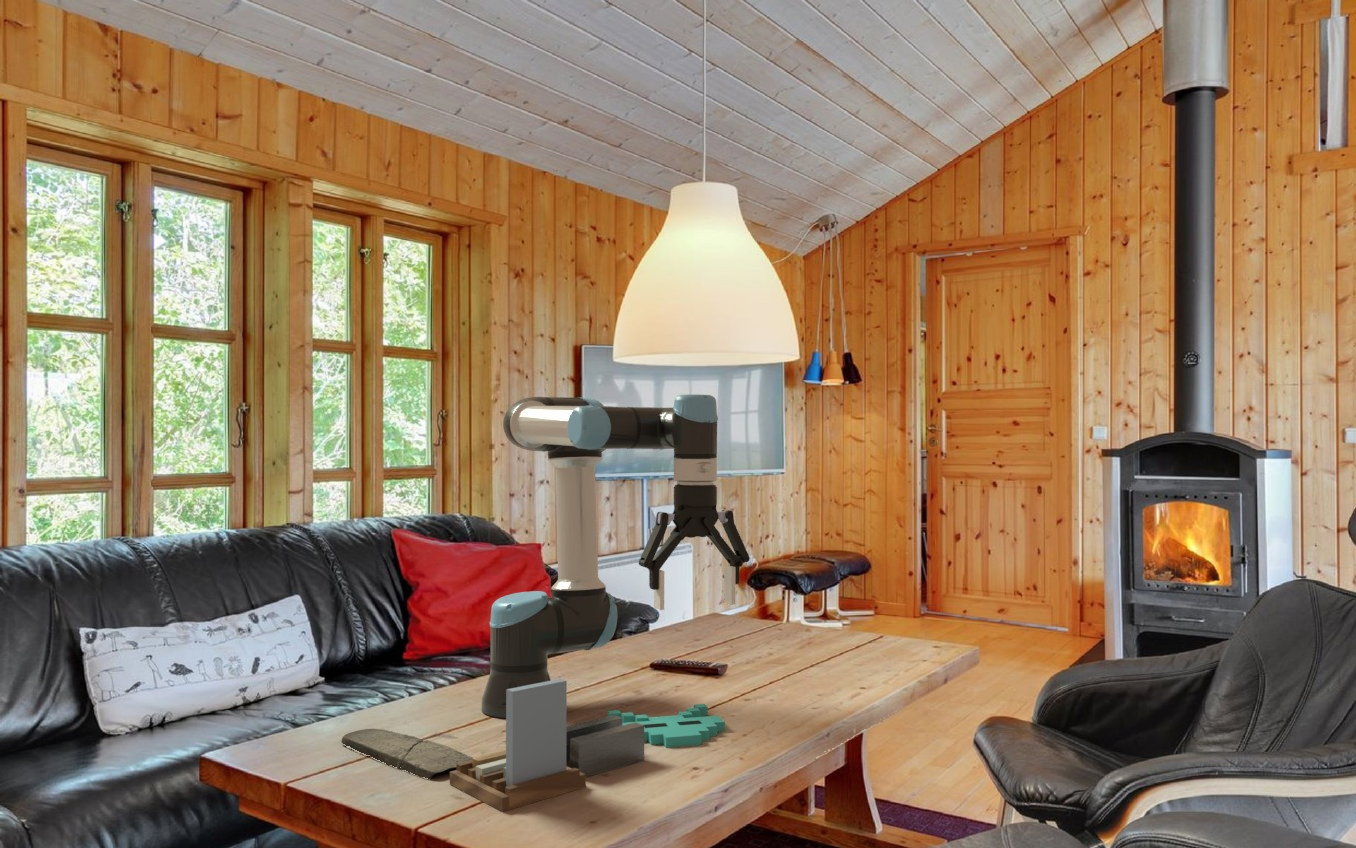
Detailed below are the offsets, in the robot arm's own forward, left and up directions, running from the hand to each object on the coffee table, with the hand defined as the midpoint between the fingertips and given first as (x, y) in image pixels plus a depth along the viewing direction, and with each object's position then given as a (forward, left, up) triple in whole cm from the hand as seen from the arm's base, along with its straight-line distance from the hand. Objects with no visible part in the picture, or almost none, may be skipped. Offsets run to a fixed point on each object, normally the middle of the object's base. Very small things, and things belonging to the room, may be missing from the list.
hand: (695, 606), depth 167 cm
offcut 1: (-15, -30, -27) cm, 43 cm away
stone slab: (-36, -36, -27) cm, 57 cm away
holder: (-10, -14, -26) cm, 31 cm away
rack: (-10, -30, -26) cm, 41 cm away
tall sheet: (-4, -30, -27) cm, 40 cm away
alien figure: (-16, +8, -27) cm, 32 cm away
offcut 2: (-12, -30, -27) cm, 42 cm away
